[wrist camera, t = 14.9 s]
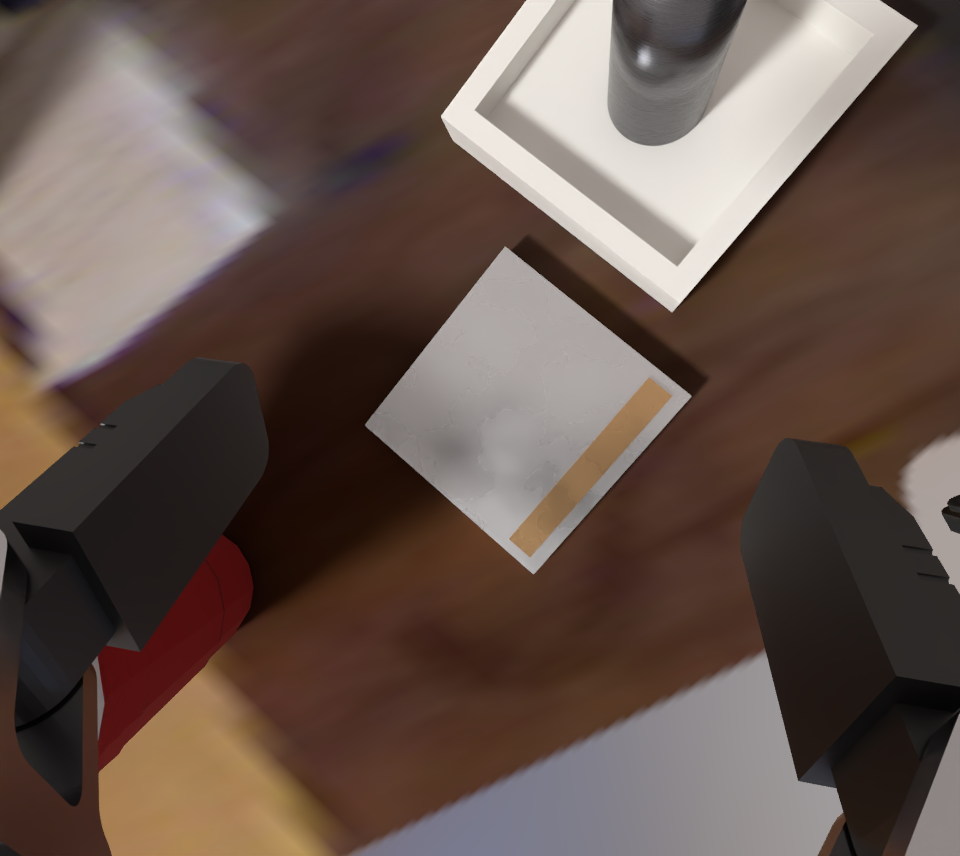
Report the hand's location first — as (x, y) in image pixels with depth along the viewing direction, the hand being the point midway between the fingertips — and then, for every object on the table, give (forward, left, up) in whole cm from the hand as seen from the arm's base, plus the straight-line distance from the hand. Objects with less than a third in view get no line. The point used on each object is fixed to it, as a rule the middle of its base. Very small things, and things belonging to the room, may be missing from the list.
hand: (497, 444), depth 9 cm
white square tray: (-5, +13, -17) cm, 22 cm away
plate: (-1, -1, -17) cm, 17 cm away
